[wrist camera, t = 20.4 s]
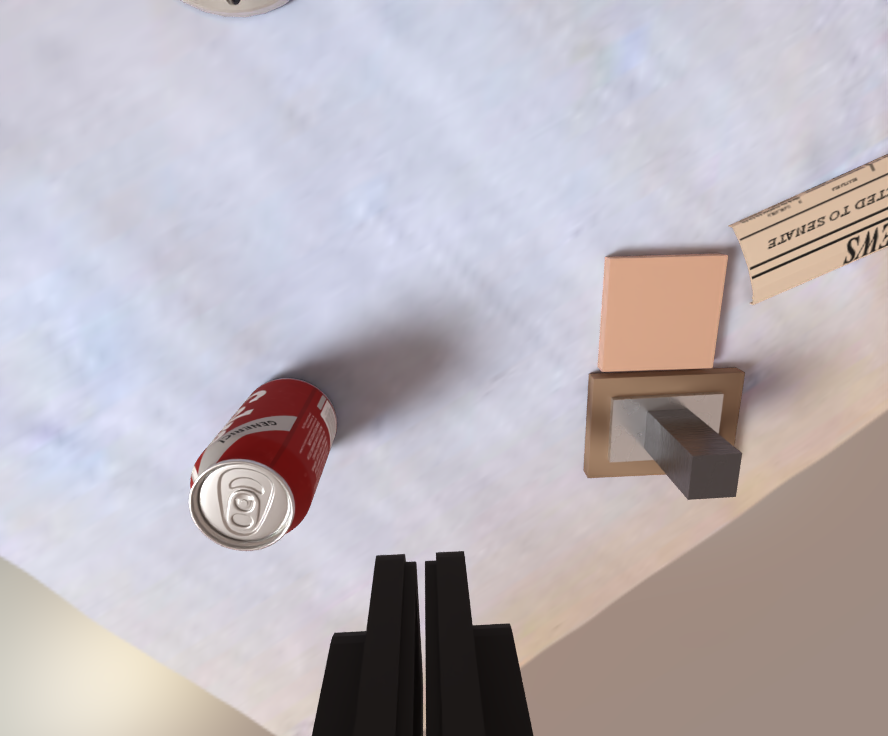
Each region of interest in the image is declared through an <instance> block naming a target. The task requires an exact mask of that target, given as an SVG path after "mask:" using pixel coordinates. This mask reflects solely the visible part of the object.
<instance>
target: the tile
mask: <svg viewBox="0 0 888 736" xmlns="http://www.w3.org/2000/svg"><path fill="white" fill-rule="evenodd" d="M727 260H728V255H724V254H720V253H717V254H683V255H649V256H614V257H605V266H604V280H603V295H602V310H601V325H600V340H599V354H598V368H599V369H600V370H601V371H602V372H612V371H641V370H670V369H700V368H713V361H714V354H715V347H716V340H717V332H718V325H719V318H720V311H721V303H722V296H723V289H724V282H725V275H726V267H727Z"/></svg>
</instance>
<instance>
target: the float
mask: <svg viewBox="0 0 888 736" xmlns="http://www.w3.org/2000/svg"><path fill="white" fill-rule="evenodd" d="M723 396H724V394H723V393H722V392H703V393H685V394H666V395H648V396H630V397H612V398H611V410H610V428H609V446H608V460H609V462H627V461H644V460H654V461H655V462H656V463H657V464H658V465H659V466H660V468H661V469H662V470H663V471H664V472H665V473H666V475H667V476H668V477H669V478H670V479H671V480H672V482H673V483H674V484H675V485H676V486H677V487H678V489H679V490H680V491H681V492H682V493H683V494H684V496H685V497H686V498H687V499H688V500H690V499H707V498H724V497H736V492H737V485H738V478H739V471H740V464H741V457H742V453H741V452H740V451H739V450H738V449H736V448H735V447H734V446H733V445H731V444H730V443H729V442H728V441H727V440H725V439H724V438H723V437H722V436H721V435H719V428H720V420H721V412H722V404H723Z"/></svg>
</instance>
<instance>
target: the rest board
mask: <svg viewBox="0 0 888 736" xmlns="http://www.w3.org/2000/svg"><path fill="white" fill-rule="evenodd" d="M744 376H745V372H743V371H741V370H739V369H738V368H714V369H690V370H666V371H642V372H618V373H594V374H589V381H588V399H587V417H586V436H585V454H584V472H585V474H586V475H587V477H588V478H600V477H621V476H643V475H664V474H666V473H665V472H664V471H663V470H662V469H661V468H660V466H659V465H658V464H657V463H656V462H655V461H654V460H644V461H627V462H609V460H608V446H609V428H610V410H611V398H612V397H630V396H648V395H666V394H685V393H703V392H722V393H723V394H724V396H723V404H722V412H721V420H720V428H719V435H721V436H722V437H723V438H724V439H725V440H727V441H728V442H729V443H730V444H731V445H733V446H734V443H735V436H736V429H737V423H738V416H739V409H740V403H741V396H742V389H743V383H744Z"/></svg>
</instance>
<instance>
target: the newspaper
mask: <svg viewBox="0 0 888 736" xmlns="http://www.w3.org/2000/svg"><path fill="white" fill-rule="evenodd" d="M729 227H732V228H733V230H734V232H735V234H736V236H737V238H738V240H739V243H740V246H741V249H742V251H743V254H744V257H745V260H746V263H747V266H748V270H749V275H750V280H751V284H752V289H753V297H752V299H753V302H751V303H750V304H752V305H754V304H757V303H759V302H761V301H763V300H766V299H768V298H770V297H773V296H775V295H777V294H780V293H782V292H784V291H787V290H789V289H791V288H793V287H796V286H798V285H800V284H803V283H805V282H807V281H810V280H812V279H814V278H817V277H819V276H821V275H823V274H826V273H828V272H830V271H833V270H835V269H837V268H840V267H842V266H844V265H847V264H849V263H851V262H853V261H856V260H858V259H860V258H863V257H865V256H867V255H870V254H872V253H874V252H877V251H879V250H881V249H884V248H886V247H888V154H887V155H885V156H882V157H880V158H878V159H876V160H873V161H871V162H869V163H867V164H865V165H862V166H860V167H858V168H856V169H853V170H851V171H849V172H847V173H845V174H842V175H840V176H838V177H836V178H833V179H831V180H829V181H827V182H825V183H822V184H820V185H818V186H816V187H814V188H811V189H809V190H807V191H805V192H802V193H800V194H798V195H796V196H794V197H791V198H789V199H787V200H785V201H782V202H780V203H778V204H776V205H774V206H771V207H769V208H767V209H765V210H762V211H760V212H758V213H756V214H754V215H751V216H749V217H747V218H745V219H742V220H740V221H738V222H736V223H734V224H731V225H729Z"/></svg>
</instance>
